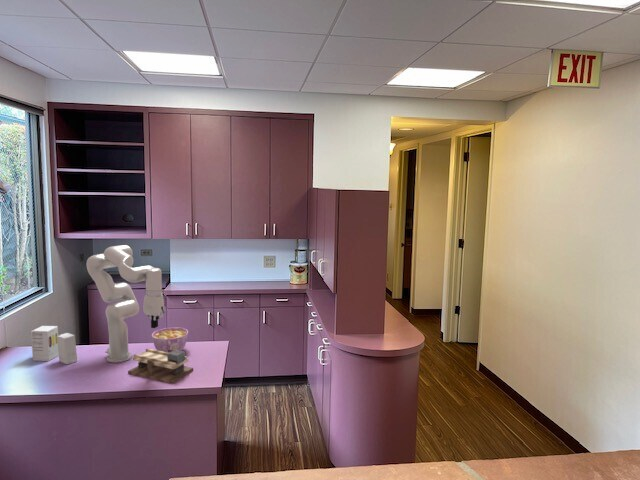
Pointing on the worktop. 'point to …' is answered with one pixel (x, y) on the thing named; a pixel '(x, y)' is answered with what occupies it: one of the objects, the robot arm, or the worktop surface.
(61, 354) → the skincare box
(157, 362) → the cream curved piece
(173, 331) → the bowl of food
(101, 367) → the worktop surface
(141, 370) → the stand
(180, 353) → the block
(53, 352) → the supplement box
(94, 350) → the worktop surface
